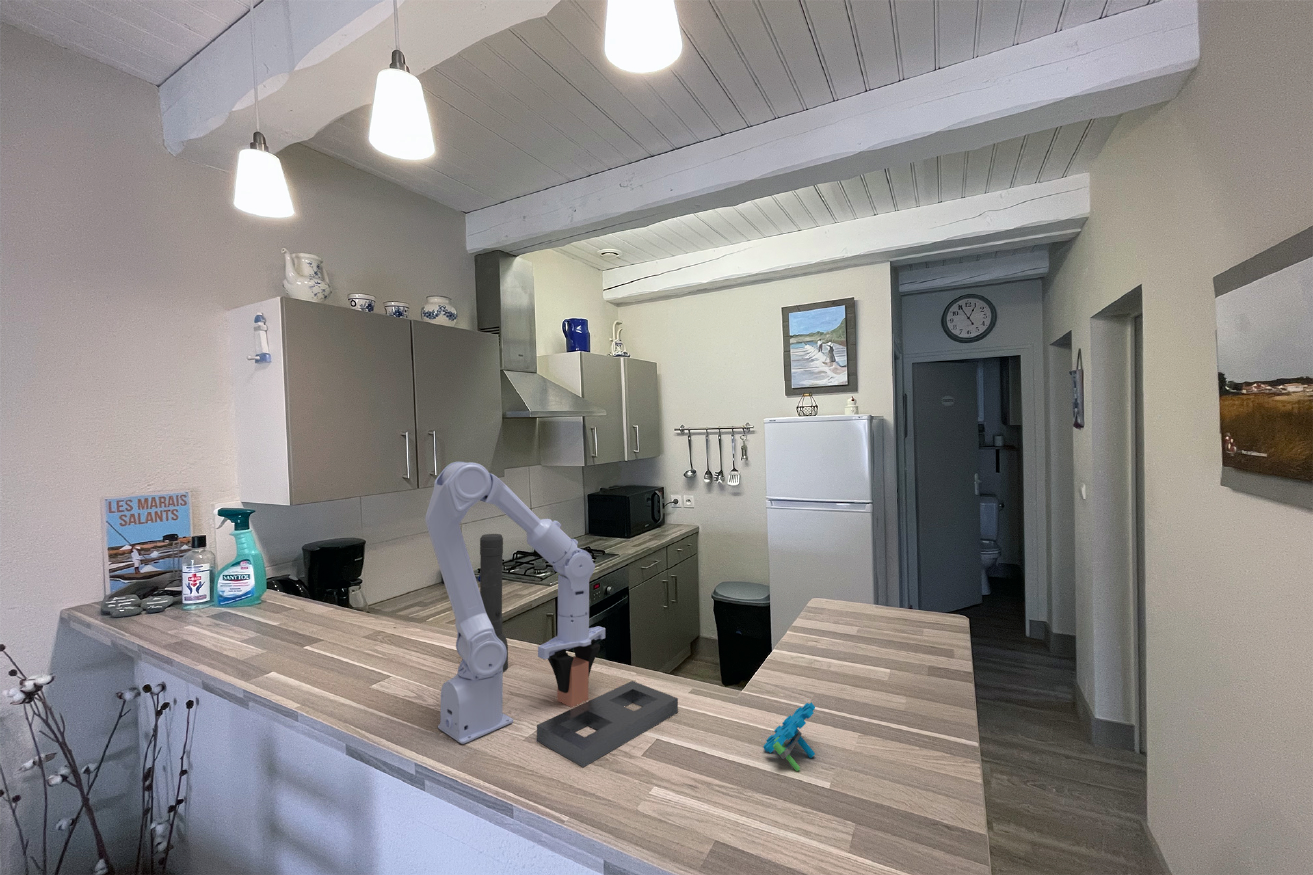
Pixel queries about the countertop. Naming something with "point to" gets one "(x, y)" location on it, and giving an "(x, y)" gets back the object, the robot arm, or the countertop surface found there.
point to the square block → (576, 684)
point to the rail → (606, 722)
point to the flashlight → (492, 583)
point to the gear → (791, 735)
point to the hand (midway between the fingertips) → (573, 686)
